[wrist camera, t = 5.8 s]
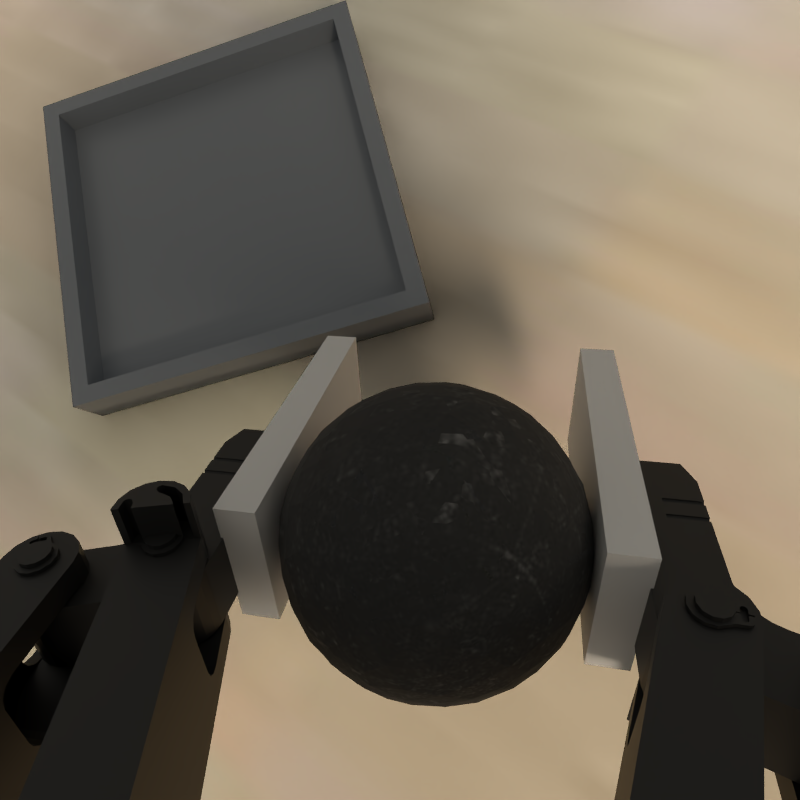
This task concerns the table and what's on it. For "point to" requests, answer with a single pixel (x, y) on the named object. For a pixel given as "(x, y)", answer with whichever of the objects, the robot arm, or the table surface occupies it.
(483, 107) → the table surface
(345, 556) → the light bulb
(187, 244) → the tray
